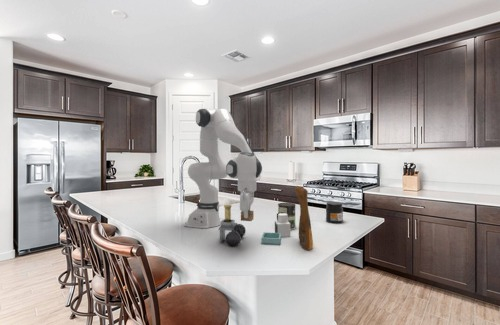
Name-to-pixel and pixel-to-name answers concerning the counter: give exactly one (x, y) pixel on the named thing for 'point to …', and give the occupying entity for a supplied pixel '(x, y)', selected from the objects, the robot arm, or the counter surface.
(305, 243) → the brown wooden upright piece
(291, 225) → the coffee can
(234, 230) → the trolley
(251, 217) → the chock
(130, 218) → the counter surface
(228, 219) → the pin
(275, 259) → the counter surface
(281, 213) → the medicine bottle
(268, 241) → the tray
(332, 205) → the supplement container
